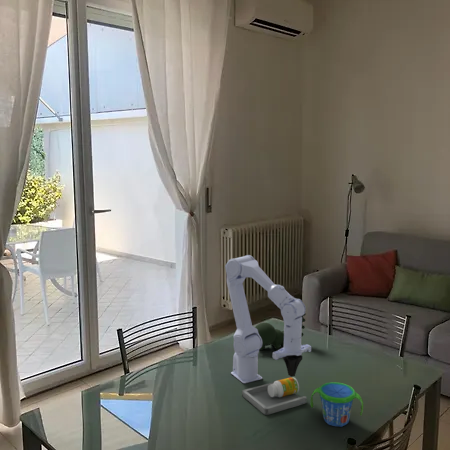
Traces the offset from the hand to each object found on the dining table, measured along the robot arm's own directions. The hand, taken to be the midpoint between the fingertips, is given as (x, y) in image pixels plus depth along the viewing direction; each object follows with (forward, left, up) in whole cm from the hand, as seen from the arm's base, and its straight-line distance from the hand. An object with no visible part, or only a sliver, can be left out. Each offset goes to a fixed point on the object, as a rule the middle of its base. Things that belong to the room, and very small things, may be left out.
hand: (291, 375), depth 169 cm
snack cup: (+20, +2, -7) cm, 21 cm away
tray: (0, -7, -7) cm, 10 cm away
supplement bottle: (0, +2, -4) cm, 4 cm away
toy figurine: (-36, +19, -7) cm, 41 cm away
